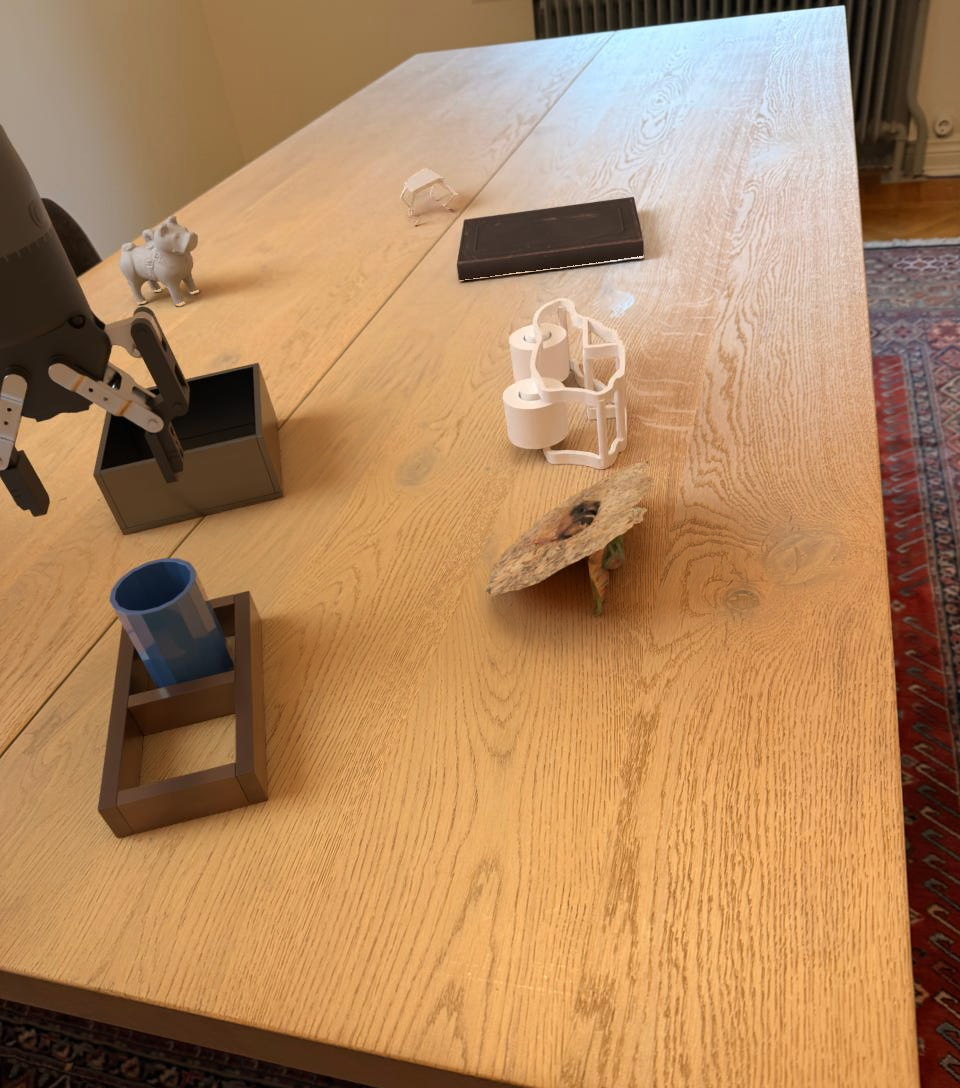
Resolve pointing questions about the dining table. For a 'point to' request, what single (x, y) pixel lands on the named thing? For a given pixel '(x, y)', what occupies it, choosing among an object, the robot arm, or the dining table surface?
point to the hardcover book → (549, 238)
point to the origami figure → (422, 182)
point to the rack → (180, 706)
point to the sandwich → (577, 535)
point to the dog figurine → (160, 260)
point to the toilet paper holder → (542, 396)
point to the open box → (196, 455)
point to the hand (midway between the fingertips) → (108, 493)
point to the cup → (171, 622)
